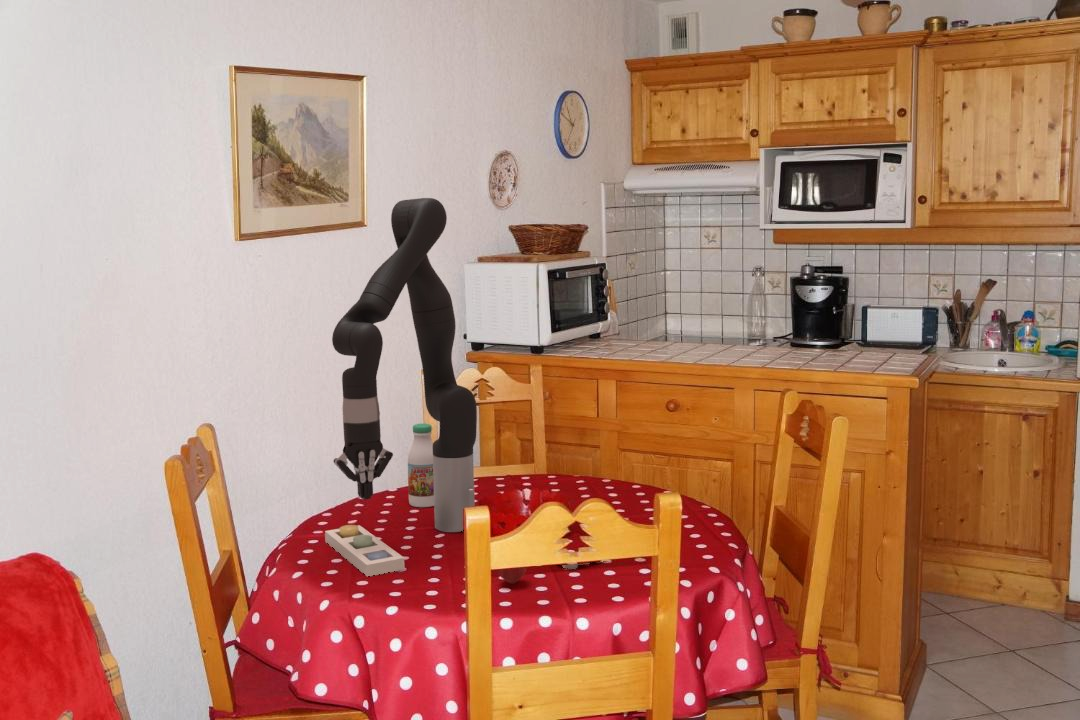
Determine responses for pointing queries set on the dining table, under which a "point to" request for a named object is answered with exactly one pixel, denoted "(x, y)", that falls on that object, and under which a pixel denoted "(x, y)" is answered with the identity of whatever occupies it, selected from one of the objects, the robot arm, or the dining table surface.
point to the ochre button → (348, 531)
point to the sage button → (362, 541)
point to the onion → (512, 574)
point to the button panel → (365, 553)
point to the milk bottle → (421, 467)
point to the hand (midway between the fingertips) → (365, 498)
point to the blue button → (377, 555)
